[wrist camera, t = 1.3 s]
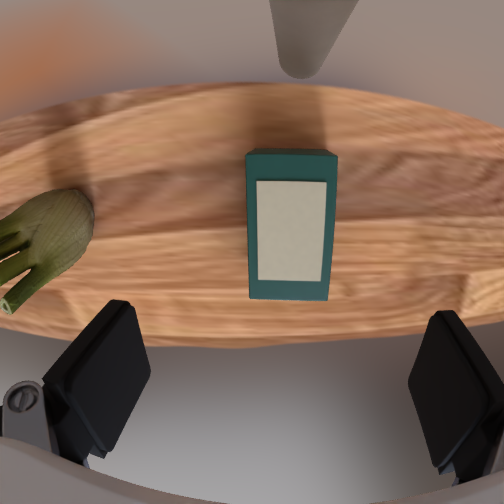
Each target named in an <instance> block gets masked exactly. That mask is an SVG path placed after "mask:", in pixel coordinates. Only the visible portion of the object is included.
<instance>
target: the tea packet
mask: <svg viewBox="0 0 504 504" xmlns="http://www.w3.org/2000/svg"><path fill="white" fill-rule="evenodd" d="M245 161H246V199H247V236H248V271H249V298H250V299H267V300H300V301H327V300H328V292H329V283H330V273H331V263H332V251H333V239H334V226H335V210H336V191H337V166H338V156H337V155H335V154H333V153H331V152H330V151H328V150H321V149H283V148H255V149H253V150H252V151H250V152H248V153H247V154H246V155H245Z"/></svg>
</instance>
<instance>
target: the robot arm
mask: <svg viewBox="0 0 504 504" xmlns="http://www.w3.org/2000/svg"><path fill="white" fill-rule="evenodd" d="M150 372H151V369H150V365H149V361H148V358H147V354H146V351H145V347H144V343H143V339H142V335H141V331H140V328H139V323H138V319H137V315H136V311H135V308H134V307H133V306H131V305H130V303H129V302H128V301H123V300H114V299H113V300H110V301H109V302H108V303H107V304H106V305H105V307H104V308H103V309H102V310H101V311H100V312H99V313H98V314H97V315H96V316H95V317H94V319H93V320H92V321H91V322H90V323H89V324H88V325H87V326H86V327H85V329H84V330H83V331H82V332H81V333H80V334H79V335H78V336H77V338H76V339H75V340H74V341H73V342H72V343H71V345H70V346H69V347H68V348H67V349H66V350H65V351H64V353H63V354H62V355H61V356H60V357H59V358H58V360H57V361H56V362H55V363H54V365H53V366H52V367H51V368H50V369H49V371H48V372H47V373H46V374H45V375H44V377H43V378H42V380H43V381H44V383H45V384H44V385H43V387H41V386H40V385H39V384H38V383H36V382H34V381H22V382H19V383H16V384H15V385H13V386H12V387H11V388H10V389H9V390H8V391H7V392H6V394H5V396H4V399H3V405H2V406H0V504H226V503H218V502H212V501H205V500H200V499H194V498H189V497H184V496H179V495H175V494H170V493H166V492H162V491H158V490H154V489H150V488H146V487H143V486H139V485H136V484H132V483H129V482H126V481H123V480H120V479H117V478H114V477H111V476H108V475H105V474H102V473H99V472H96V471H94V470H91V469H90V468H89V464H88V461H87V456H88V455H89V453H90V454H92V455H95V456H98V457H100V458H103V459H104V458H105V456H106V454H107V452H111V451H112V450H113V449H114V447H115V445H116V442H117V441H118V438H119V436H120V434H121V432H122V430H123V428H124V426H125V424H126V422H127V420H128V418H129V416H130V414H131V412H132V410H133V409H134V407H135V405H136V403H137V401H138V399H139V397H140V395H141V393H142V391H143V389H144V387H145V385H146V383H147V381H148V379H149V377H150ZM408 387H409V390H410V393H411V396H412V399H413V402H414V405H415V408H416V411H417V414H418V417H419V420H420V423H421V426H422V430H423V433H424V436H425V439H426V443H427V446H428V449H429V453H430V457H431V460H432V464H433V466H434V467H437V468H438V471H439V475H441V474H445V473H449V472H453V471H454V470H455V473H456V478H455V480H454V482H453V484H452V486H451V487H449V488H445V489H441V490H438V491H434V492H430V493H426V494H421V495H417V496H413V497H407V498H403V499H397V500H392V501H386V502H379V503H371V504H504V384H503V382H502V381H501V379H500V377H499V376H498V374H497V372H496V371H495V369H494V368H493V366H492V365H491V363H490V361H489V360H488V358H487V357H486V355H485V354H484V352H483V351H482V350H481V348H480V346H479V345H478V343H477V342H476V340H475V339H474V338H473V336H472V335H471V333H470V332H469V331H468V329H467V328H466V326H465V325H464V323H463V322H462V321H461V319H460V318H459V317H458V315H457V314H456V313H455V312H454V311H453V310H444V311H437V312H436V313H435V314H434V316H431V317H430V319H429V322H428V326H427V329H426V332H425V335H424V338H423V341H422V344H421V347H420V349H419V352H418V355H417V358H416V360H415V363H414V366H413V368H412V371H411V373H410V376H409V379H408Z"/></svg>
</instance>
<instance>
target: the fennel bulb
mask: <svg viewBox="0 0 504 504" xmlns="http://www.w3.org/2000/svg"><path fill="white" fill-rule="evenodd" d="M93 226H94V211H93V207H92V205H91V203H90V201H89V200H88V198H87V197H86V196H85V195H84V194H83V193H82V192H80V191H78V190H75V189H73V190H64V189H57V190H52V191H48V192H44V193H42V194H40V195H38V196H36V197H34V198H32V199H30V200H29V201H27V202H26V203H25V204H23V205H22V206H21V207H19V208H18V209H16V210H15V211H14V212H13V213H11V214H10V215H8V216H7V217H5V218H3V219H2V220H0V261H1V260H3V259H4V258H7V257H8V256H10V255H12V254H14V253H16V252H18V251H20V252H19V253H18V254H16V255H14V256H12V257H10V258H8V259H6V260H3V261H2V262H1V263H0V286H2V285H3V284H5V283H7V282H8V281H9V280H11V279H13V278H15V277H16V276H18V275H20V274H22V273H23V272H25V271H26V270H28V269H31V271H30V272H29V273H28V274H27V275H26V276H25V277H23V278H22V279H21V280H20V281H19V282H18V283H17V284H16V285H14V286H13V287H12V288H11V289H10V290H9V291H8V292H7V293H6V294H5V295H4V297H3V298H2V299H1V300H0V308H1V309H2V310H3V311H5V312H6V313H7V314H9V315H10V314H13V313H14V312H15V311H16V310H17V309H18V308H19V307H20V306H21V305H22V304H23V303H24V302H25V301H26V300H27V299H28V298H30V297H31V296H32V295H33V294H34V293H35V292H36V291H37V290H39V289H40V288H41V287H43V286H44V285H45V284H47V283H48V282H49V281H51V280H52V279H54V278H55V277H57V276H59V275H60V274H61V273H63V272H64V271H66V270H67V269H69V268H70V267H71V266H73V265H74V263H75V262H77V261H78V260H79V259H80V258H81V256H82V255H83V254H84V252H85V251H86V248H87V245H88V244H89V242H90V240H91V237H92V234H93Z"/></svg>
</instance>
